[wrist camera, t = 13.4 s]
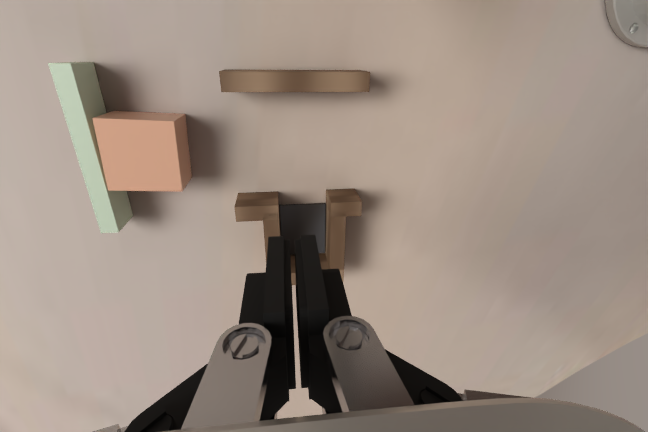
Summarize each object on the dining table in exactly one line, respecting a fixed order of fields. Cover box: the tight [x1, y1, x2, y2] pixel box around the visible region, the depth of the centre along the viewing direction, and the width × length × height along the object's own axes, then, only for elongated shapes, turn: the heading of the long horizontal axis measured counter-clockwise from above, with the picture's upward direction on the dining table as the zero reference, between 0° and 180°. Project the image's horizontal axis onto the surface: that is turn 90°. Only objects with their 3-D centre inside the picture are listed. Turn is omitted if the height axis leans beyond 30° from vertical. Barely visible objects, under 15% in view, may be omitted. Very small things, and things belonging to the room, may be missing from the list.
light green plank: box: [48, 62, 133, 233], centre depth 29 cm, size 2×14×4 cm, turn 0°
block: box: [92, 111, 192, 191], centre depth 30 cm, size 6×6×4 cm
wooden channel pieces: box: [219, 70, 370, 285], centre depth 33 cm, size 12×21×4 cm, turn 0°
